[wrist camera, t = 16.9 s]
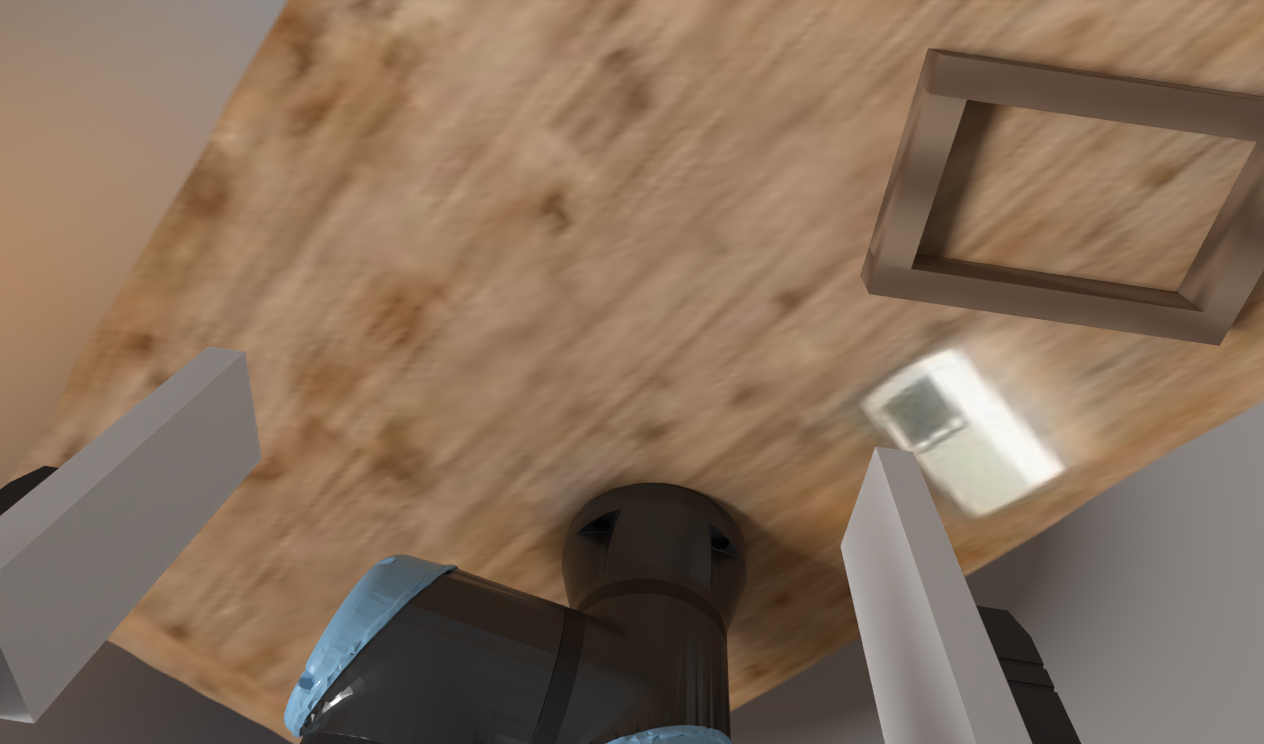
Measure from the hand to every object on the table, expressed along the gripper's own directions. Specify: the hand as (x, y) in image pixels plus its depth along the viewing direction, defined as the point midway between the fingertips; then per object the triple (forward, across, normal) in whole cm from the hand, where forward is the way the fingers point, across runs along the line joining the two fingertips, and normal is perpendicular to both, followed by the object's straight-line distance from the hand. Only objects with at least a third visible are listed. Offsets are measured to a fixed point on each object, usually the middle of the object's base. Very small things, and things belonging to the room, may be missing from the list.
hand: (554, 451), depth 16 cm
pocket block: (+35, -26, +1) cm, 43 cm away
